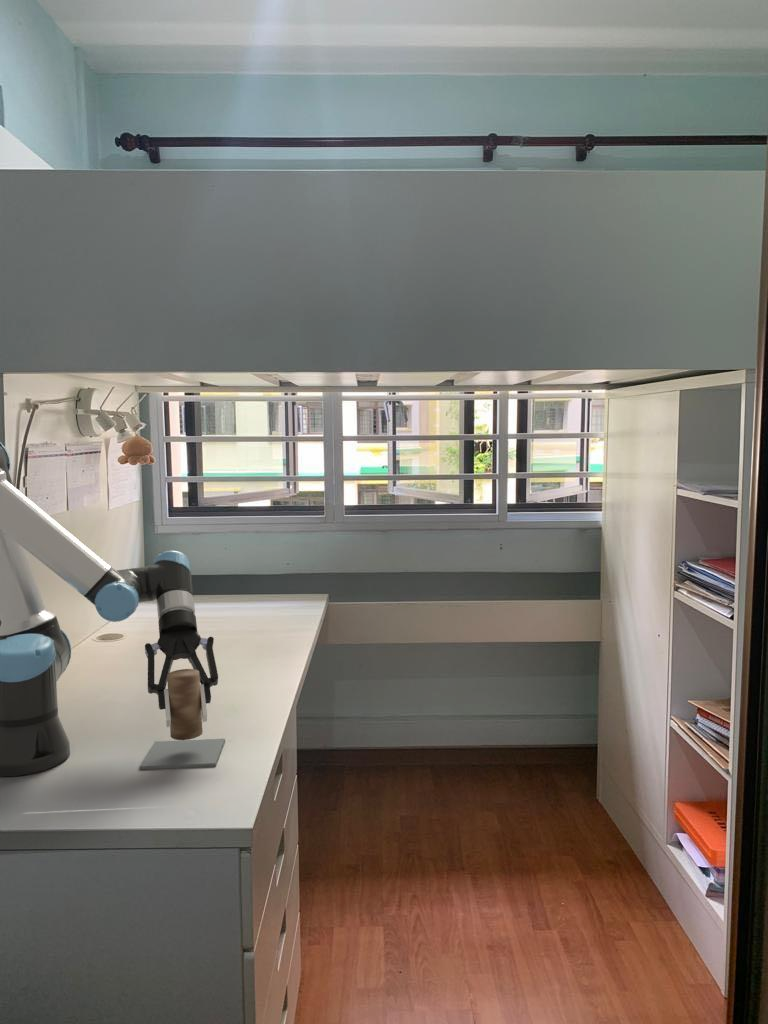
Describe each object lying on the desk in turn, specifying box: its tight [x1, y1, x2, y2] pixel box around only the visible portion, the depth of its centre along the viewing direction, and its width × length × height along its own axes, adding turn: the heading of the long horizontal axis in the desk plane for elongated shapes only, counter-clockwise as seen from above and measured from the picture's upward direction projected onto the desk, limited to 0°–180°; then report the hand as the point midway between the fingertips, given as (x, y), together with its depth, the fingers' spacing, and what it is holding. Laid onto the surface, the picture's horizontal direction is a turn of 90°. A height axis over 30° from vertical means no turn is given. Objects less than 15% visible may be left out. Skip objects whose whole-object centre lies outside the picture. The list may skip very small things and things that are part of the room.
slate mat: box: [139, 738, 226, 770], centre depth 148 cm, size 14×12×1 cm
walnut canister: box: [167, 668, 204, 741], centre depth 147 cm, size 6×6×12 cm
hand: (186, 720), depth 144 cm, fingers closed on walnut canister, 6 cm apart
